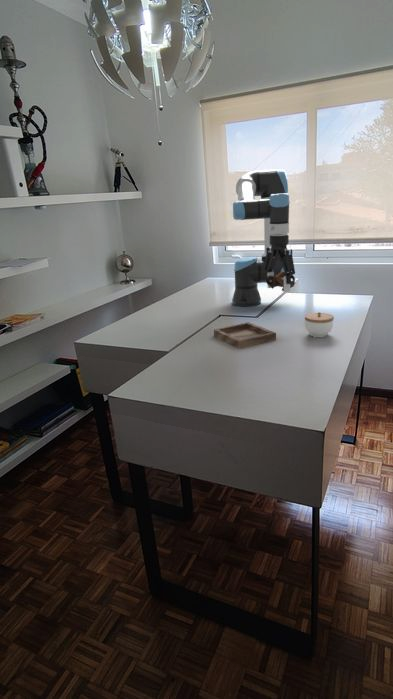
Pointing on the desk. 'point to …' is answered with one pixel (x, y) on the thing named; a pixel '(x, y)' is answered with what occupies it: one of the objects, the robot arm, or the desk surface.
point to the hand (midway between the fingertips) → (278, 289)
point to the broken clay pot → (279, 280)
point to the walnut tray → (244, 335)
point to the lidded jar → (319, 324)
